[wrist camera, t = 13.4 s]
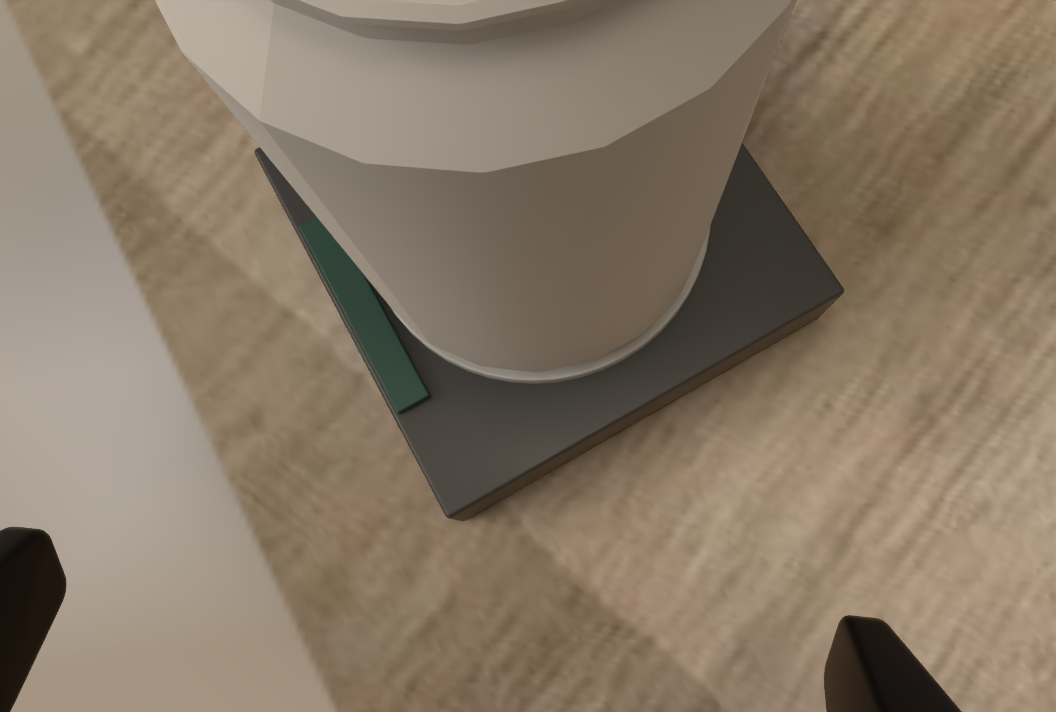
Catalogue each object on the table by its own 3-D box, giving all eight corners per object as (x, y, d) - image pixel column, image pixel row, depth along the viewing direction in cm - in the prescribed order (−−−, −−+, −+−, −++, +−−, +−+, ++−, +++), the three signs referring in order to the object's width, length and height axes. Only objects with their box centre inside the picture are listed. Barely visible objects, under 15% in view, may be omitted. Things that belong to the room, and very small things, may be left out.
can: (766, 166, 19) (1062, -461, 7) (583, 448, 18) (577, 254, 6) (489, 13, 20) (355, -729, 8) (303, 265, 19) (-150, -184, 7)
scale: (462, 522, 20) (443, 519, 18) (284, 187, 22) (245, 141, 20) (819, 317, 21) (852, 284, 18) (610, 10, 23) (613, -57, 20)
